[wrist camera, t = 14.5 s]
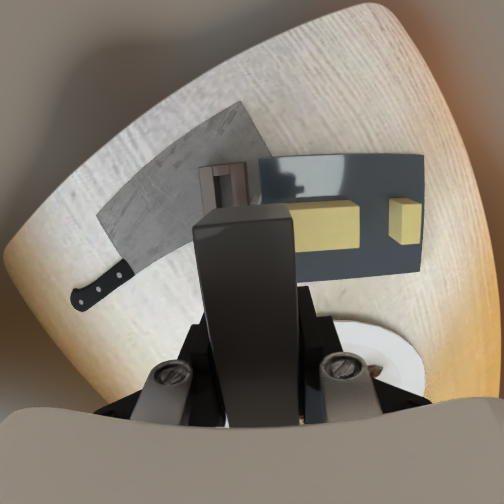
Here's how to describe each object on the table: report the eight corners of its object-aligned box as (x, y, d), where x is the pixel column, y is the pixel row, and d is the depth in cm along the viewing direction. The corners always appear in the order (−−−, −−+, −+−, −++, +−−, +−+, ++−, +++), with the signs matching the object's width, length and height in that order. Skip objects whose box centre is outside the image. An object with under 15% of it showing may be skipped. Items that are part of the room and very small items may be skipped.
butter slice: (388, 235, 27) (401, 245, 24) (388, 198, 26) (402, 204, 23) (406, 234, 27) (420, 243, 24) (407, 197, 26) (422, 203, 23)
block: (219, 282, 31) (215, 296, 28) (205, 165, 27) (198, 167, 24) (257, 280, 30) (256, 294, 27) (246, 161, 27) (244, 162, 24)
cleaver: (40, 251, 31) (83, 317, 33) (38, 253, 30) (81, 319, 33) (240, 101, 25) (295, 193, 28) (239, 100, 25) (295, 194, 27)
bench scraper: (252, 356, 17) (240, 478, 9) (234, 190, 15) (190, 226, 6) (289, 354, 17) (298, 476, 9) (279, 186, 15) (293, 217, 6)
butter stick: (276, 242, 28) (277, 254, 25) (273, 204, 27) (274, 210, 24) (350, 237, 28) (359, 248, 24) (349, 199, 26) (359, 205, 23)
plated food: (410, 437, 38) (415, 452, 35) (237, 470, 42) (235, 485, 39) (426, 283, 29) (439, 296, 26) (166, 338, 33) (158, 355, 30)
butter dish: (268, 281, 30) (268, 285, 29) (258, 158, 26) (258, 158, 26) (416, 269, 29) (419, 271, 28) (420, 154, 25) (424, 154, 24)
